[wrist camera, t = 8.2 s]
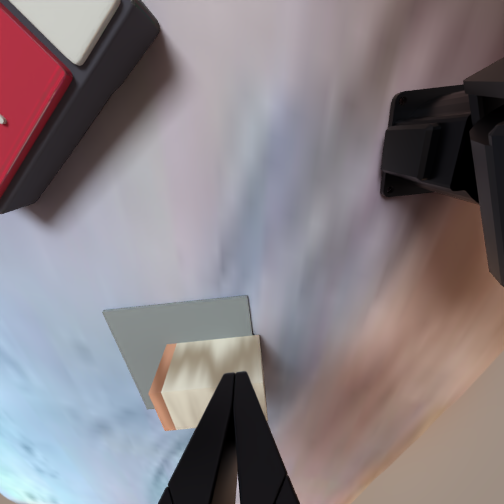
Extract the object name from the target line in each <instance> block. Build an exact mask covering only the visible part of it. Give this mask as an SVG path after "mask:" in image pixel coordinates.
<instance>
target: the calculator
mask: <svg viewBox="0 0 504 504" xmlns="http://www.w3.org/2000/svg"><path fill="white" fill-rule="evenodd" d="M159 29H160V28H159V23H158V21H157V19H156V18H155V17H154V15H153V14H152V13H151V12H150V11H149V9H148V8H147V7H146V6H145V4H144V3H143V2H142V1H141V0H0V214H4V213H7V212H10V211H13V210H15V209H18V208H21V207H24V206H27V205H30V204H33V203H35V202H36V201H37V200H38V198H39V197H40V195H41V194H42V193H43V191H44V190H45V189H46V187H47V186H48V184H49V183H50V182H51V180H52V179H53V178H54V176H55V175H56V173H57V172H58V171H59V169H60V168H61V167H62V165H63V164H64V162H65V161H66V160H67V158H68V157H69V155H70V154H71V153H72V151H73V150H74V148H75V147H76V145H77V144H78V142H79V141H80V139H81V138H82V137H83V135H84V134H85V132H86V131H87V129H88V128H89V126H90V125H91V123H92V122H93V121H94V119H95V118H96V116H97V115H98V113H99V112H100V110H101V109H102V107H103V106H104V105H105V103H106V102H107V100H108V99H109V97H110V96H111V94H112V93H113V92H114V91H115V90H116V89H117V88H119V87H120V86H121V84H122V83H123V82H124V80H125V79H126V78H127V76H128V75H129V73H130V72H131V71H132V69H133V68H134V67H135V65H136V64H137V62H138V61H139V60H140V58H141V57H142V56H143V54H144V53H145V51H146V50H147V49H148V47H149V46H150V45H151V43H152V42H153V41H154V39H155V38H156V36H157V35H158V33H159Z"/></svg>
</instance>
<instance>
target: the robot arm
mask: <svg viewBox="0 0 504 504" xmlns="http://www.w3.org/2000/svg"><path fill="white" fill-rule="evenodd" d="M463 83H464V85H456V86H447V87H438V88H430V89H421V90H412V91H404V92H400V93H398V94H396V95H395V96H394V98H393V99H392V103H391V110H390V118H389V126H388V129H387V130H386V132H385V140H384V149H383V157H382V165H381V169H382V171H383V174H382V182H381V194H382V195H384V196H386V197H393V196H403V195H412V194H421V193H430V192H437V193H440V194H444V195H447V196H451V197H454V198H458V199H461V200H465V201H468V202H472V203H475V204H479V205H480V211H481V218H482V225H483V232H484V239H485V246H486V253H487V260H488V266H489V272H490V273H491V274H492V275H493V276H494V277H495V278H496V280H497V281H498V282H499V283H500V284H501V285H502V286H503V287H504V57H503V58H502V59H500V60H498V61H496V62H495V63H493V64H491V65H489V66H488V67H486V68H484V69H482V70H480V71H479V72H477V73H475V74H473V75H472V76H470V77H468V78H466V79H465V80H464V81H463ZM401 97H402V98H403V104H402V105H400V104H399V100H400V98H401ZM388 187H391V190H390V191H389V192H387V188H388ZM237 473H238V481H239V493H240V504H300V502H299V500H298V497H297V495H296V493H295V490H294V488H293V485H292V483H291V480H290V478H289V476H288V475H287V471H286V468H285V466H284V463H283V461H282V458H281V456H280V453H279V451H278V448H277V446H276V443H275V441H274V438H273V436H272V433H271V431H270V428H269V426H268V423H267V421H266V418H265V416H264V413H263V411H262V408H261V406H260V403H259V401H258V398H257V396H256V393H255V391H254V388H253V386H252V383H251V381H250V378H249V376H248V373H247V372H246V371H240V372H236V374H235V373H234V372H230V373H224V374H223V376H222V378H221V380H220V382H219V384H218V386H217V388H216V390H215V392H214V394H213V396H212V398H211V399H210V401H209V403H208V405H207V407H206V409H205V411H204V413H203V415H202V417H201V419H200V421H199V423H198V425H197V427H196V429H195V431H194V433H193V435H192V437H191V439H190V441H189V443H188V445H187V447H186V449H185V451H184V453H183V455H182V457H181V459H180V461H179V463H178V465H177V467H176V469H175V471H174V473H173V475H172V477H171V479H170V481H169V483H168V487H166V488H165V490H164V492H163V494H162V496H161V498H160V500H159V502H158V504H235V500H236V486H237Z"/></svg>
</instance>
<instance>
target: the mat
mask: <svg viewBox="0 0 504 504" xmlns="http://www.w3.org/2000/svg"><path fill="white" fill-rule="evenodd" d="M102 313H103V315H104V317H105V319H106V322H107V324H108V326H109V328H110V330H111V332H112V334H113V337H114V339H115V341H116V343H117V345H118V347H119V350H120V352H121V354H122V356H123V358H124V360H125V362H126V365H127V367H128V369H129V371H130V373H131V375H132V377H133V380H134V382H135V384H136V386H137V388H138V390H139V393H140V395H141V397H142V399H143V401H144V403H145V405H146V408H147V409H155V408H154V405H153V403H152V401H151V399H150V396H149V394H148V393H149V391H150V388H151V385H152V383H153V380H154V377H155V375H156V372H157V369H158V366H159V364H160V361H161V358H162V356H163V353H164V350H165V347H166V345H167V344H175V343H185V342H195V341H204V340H214V339H223V338H233V337H243V336H252V327H251V320H250V312H249V305H248V297H247V295H245V296H236V297H226V298H216V299H207V300H197V301H187V302H178V303H168V304H158V305H149V306H139V307H130V308H120V309H110V310H104V311H103V312H102Z"/></svg>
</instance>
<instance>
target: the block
mask: <svg viewBox="0 0 504 504" xmlns="http://www.w3.org/2000/svg"><path fill="white" fill-rule="evenodd" d="M240 371H246V372H247V373H248V376H249V378H250V381H251V383H252V386H253V388H254V391H255V393H256V396H257V398H258V401H259V403H260V406H261V408H262V411H263V413H264V416H265V418H266V421H268V418H267V406H266V395H265V383H264V372H263V363H262V355H261V347H260V339H259V335H252V336H243V337H233V338H223V339H214V340H204V341H195V342H185V343H175V344H167V345H166V347H165V350H164V353H163V356H162V358H161V361H160V364H159V366H158V369H157V372H156V375H155V377H154V380H153V383H152V385H151V388H150V391H149V393H148V394H149V396H150V399H151V401H152V403H153V405H154V408H155V410H156V412H157V414H158V417H159V419H160V421H161V423H162V425H163V428H164V430H165V431H169V430H179V429H189V428H196V427H197V425H198V423H199V421H200V419H201V417H202V415H203V413H204V411H205V409H206V407H207V405H208V403H209V401H210V399H211V398H212V396H213V394H214V392H215V390H216V388H217V386H218V384H219V382H220V380H221V378H222V376H223V374H224V373H230V372H234V373H235V374H236V372H240Z"/></svg>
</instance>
